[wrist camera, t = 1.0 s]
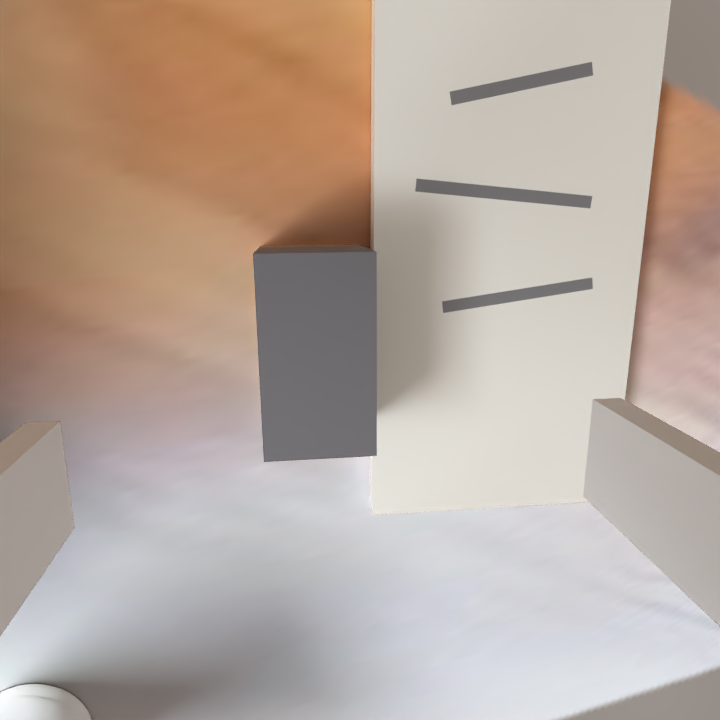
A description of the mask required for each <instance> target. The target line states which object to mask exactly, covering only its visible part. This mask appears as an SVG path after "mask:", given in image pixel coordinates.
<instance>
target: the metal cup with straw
mask: <svg viewBox="0 0 720 720" xmlns="http://www.w3.org/2000/svg"><path fill="white" fill-rule="evenodd" d="M0 720H91V716H90V714H89V712H88V710H87V709H86V707H85V706H84V705H83V703H82V702H81V701H80V700H79V699H77V698H76V697H75V696H74V695H72V694H70V693H69V692H67V691H65V690H63V689H60V688H57V687H54V686H50V685H44V684H25V685H19V686H15V687H12V688H9V689H6V690H4V691H2V692H0Z"/></svg>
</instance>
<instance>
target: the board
mask: <svg viewBox="0 0 720 720" xmlns="http://www.w3.org/2000/svg"><path fill="white" fill-rule="evenodd" d="M670 6H671V0H372V42H371V250H373V251H376V252H377V456H370V508H371V512H372V515H383V514H401V513H418V512H435V511H452V510H469V509H486V508H503V507H520V506H537V505H554V504H571V503H588V502H589V501H588V500H587V499H586V498H585V497H584V496H583V493H584V483H585V472H586V462H587V452H588V442H589V432H590V422H591V412H592V402H593V399H606V398H622V399H623V400H625V395H626V386H627V377H628V369H629V360H630V352H631V343H632V334H633V326H634V317H635V308H636V300H637V291H638V282H639V274H640V265H641V257H642V248H643V239H644V231H645V222H646V213H647V205H648V196H649V187H650V179H651V170H652V162H653V153H654V144H655V136H656V127H657V118H658V110H659V101H660V92H661V84H662V75H663V66H664V58H665V49H666V41H667V32H668V23H669V14H670Z"/></svg>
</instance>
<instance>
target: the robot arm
mask: <svg viewBox="0 0 720 720" xmlns="http://www.w3.org/2000/svg"><path fill="white" fill-rule="evenodd" d="M583 496H584V497H585V498H586V499H587V500H588V501H589V502H590V503H591V504H592V505H593V506H594V507H595V508H596V509H597V510H598V511H599V512H600V513H601V514H602V515H603V516H604V517H606V518H607V519H608V520H609V521H610V522H611V523H612V524H613V525H614V526H615V527H616V528H617V529H618V530H619V531H620V532H621V533H622V534H623V535H624V536H625V537H626V538H628V539H629V540H630V541H631V542H632V543H633V544H634V545H635V546H636V547H637V548H638V549H639V550H640V551H641V552H642V553H643V554H644V555H645V556H646V557H647V558H649V559H650V560H651V561H652V562H653V563H654V564H655V565H656V566H657V567H658V568H659V569H660V570H661V571H662V572H663V573H664V574H665V575H666V576H667V577H668V578H669V579H671V580H672V581H673V582H674V583H675V584H676V585H677V586H678V587H679V588H680V589H681V590H682V591H683V592H684V593H685V594H686V595H687V596H688V597H689V598H690V599H691V600H693V601H694V602H695V603H696V604H697V605H698V606H699V607H700V608H701V609H702V610H703V611H704V612H705V613H706V614H707V615H708V616H709V617H710V618H711V619H712V620H714V621H715V622H716V623H717V624H718V625H719V626H720V452H718V451H716V450H714V449H712V448H711V447H709V446H707V445H705V444H703V443H702V442H700V441H698V440H696V439H694V438H692V437H691V436H689V435H687V434H685V433H683V432H682V431H680V430H678V429H676V428H674V427H672V426H671V425H669V424H667V423H665V422H663V421H662V420H660V419H658V418H656V417H654V416H653V415H651V414H649V413H647V412H645V411H643V410H642V409H640V408H638V407H636V406H634V405H633V404H631V403H629V402H627V401H625V400H623V399H622V398H606V399H593V402H592V412H591V422H590V432H589V442H588V452H587V462H586V472H585V483H584V493H583ZM74 528H75V527H74V519H73V512H72V504H71V497H70V490H69V482H68V475H67V468H66V460H65V453H64V446H63V438H62V431H61V424H60V421H55V422H31V423H24V424H23V425H22V426H21V427H19V428H18V429H17V430H16V431H14V432H13V433H12V434H11V435H9V436H8V437H7V438H6V439H4V440H3V441H2V442H0V636H1V635H2V633H3V632H4V630H5V629H6V627H7V626H8V624H9V623H10V622H11V620H12V619H13V617H14V616H15V614H16V613H17V611H18V610H19V608H20V607H21V605H22V604H23V602H24V601H25V600H26V598H27V597H28V595H29V594H30V592H31V591H32V589H33V588H34V586H35V585H36V583H37V582H38V581H39V579H40V578H41V576H42V575H43V573H44V572H45V570H46V569H47V567H48V566H49V564H50V563H51V562H52V560H53V559H54V557H55V556H56V554H57V553H58V551H59V550H60V548H61V547H62V545H63V544H64V542H65V541H66V540H67V538H68V537H69V535H70V534H71V532H72V531H73V529H74Z"/></svg>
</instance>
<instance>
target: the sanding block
mask: <svg viewBox="0 0 720 720" xmlns="http://www.w3.org/2000/svg"><path fill="white" fill-rule="evenodd" d="M253 260H254V279H255V299H256V318H257V337H258V356H259V376H260V395H261V414H262V434H263V453H264V462H271V461H289V460H308V459H326V458H345V457H363V456H377V252H376V251H373V250H371V249H369V248H366V247H364V246H362V245H316V246H260V247H259V248H258V249H257V250H256V251H255V252H254V253H253Z"/></svg>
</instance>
